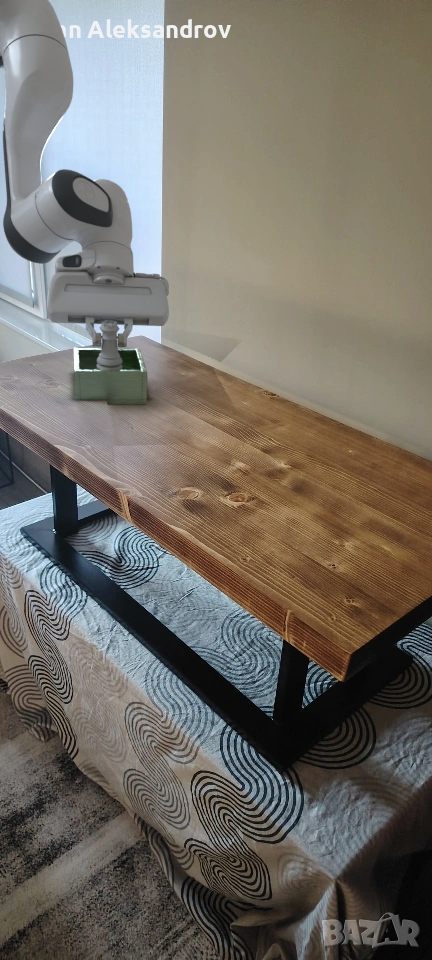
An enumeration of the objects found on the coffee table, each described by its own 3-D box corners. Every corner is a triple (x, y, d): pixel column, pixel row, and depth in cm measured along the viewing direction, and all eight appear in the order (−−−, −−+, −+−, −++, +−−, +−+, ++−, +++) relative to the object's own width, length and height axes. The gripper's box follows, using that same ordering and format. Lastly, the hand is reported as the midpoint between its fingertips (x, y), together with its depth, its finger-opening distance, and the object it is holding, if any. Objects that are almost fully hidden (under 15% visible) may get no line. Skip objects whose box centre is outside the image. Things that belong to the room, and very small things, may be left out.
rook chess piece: (91, 370, 105) (90, 323, 101) (103, 362, 109) (103, 317, 105) (116, 375, 104) (116, 328, 100) (127, 367, 108) (127, 321, 104)
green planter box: (75, 404, 102) (74, 371, 99) (74, 379, 112) (73, 347, 109) (146, 404, 105) (147, 371, 102) (139, 379, 114) (140, 348, 112)
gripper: (166, 284, 112) (169, 355, 109) (48, 279, 108) (48, 352, 105) (170, 264, 106) (173, 338, 103) (45, 258, 102) (45, 334, 99)
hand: (109, 345), depth 104 cm, fingers closed on rook chess piece, 3 cm apart
